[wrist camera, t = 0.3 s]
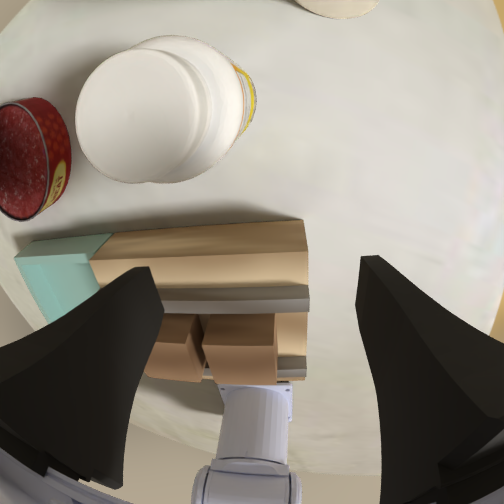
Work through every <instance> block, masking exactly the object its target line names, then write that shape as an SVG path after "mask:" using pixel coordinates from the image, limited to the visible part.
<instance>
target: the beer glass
mask: <svg viewBox="0 0 504 504" xmlns="http://www.w3.org/2000/svg"><path fill="white" fill-rule="evenodd" d="M294 1H296V2H297V3H298V4H299V5H301V6H302V7H304V8H305V9H307V10H309V11H311V12H313V13H316V14H318V15H321V16H325V17H329V18H335V19H350V18H356V17H360V16H363V15H365V14H367V13H369V12H370V11H371V10H372V9H374V7H375V6H376V5H377V4H378V2H379V0H294Z"/></svg>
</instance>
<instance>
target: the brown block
mask: <svg viewBox="0 0 504 504" xmlns="http://www.w3.org/2000/svg"><path fill="white" fill-rule="evenodd" d="M202 347H203V350H204V353H205V356H206V359H207V362H208V365H209V368H210V370H211V373H212V376H213V379H214V381H215V384H235V385H277V362H278V343H277V329H276V314H275V313H264V314H210V317H209V321H208V324H207V328H206V331H205V335H204V338H203V342H202Z"/></svg>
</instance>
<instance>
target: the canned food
mask: <svg viewBox="0 0 504 504" xmlns="http://www.w3.org/2000/svg"><path fill="white" fill-rule="evenodd" d="M70 171H71V145H70V139H69V135H68V132H67V128H66V125H65V123H64V121H63V119H62V117H61V115H60V114H59V112H58V111H57V109H56V108H55V107H54V106H53V105H52V104H51V103H49V102H48V101H46V100H44V99H42V98H36V97H33V98H28V99H23V100H19V101H14V102H8V103H4V104H2V105H1V106H0V211H1V212H2V213H3V214H4V215H6V216H7V217H8V218H10V219H12V220H15V221H19V222H23V221H29V220H31V219H33V218H34V217H35V216H36V215H38V214H39V213H41V212H42V211H44V210H45V209H46V208H48V207H49V206H51V205H52V204H54V203H55V202H56V201H57V200H58V199H59V198H60V197H61V195H62V194H63V192H64V191H65V188H66V186H67V184H68V180H69V176H70Z"/></svg>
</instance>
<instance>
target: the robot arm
mask: <svg viewBox="0 0 504 504" xmlns="http://www.w3.org/2000/svg"><path fill="white" fill-rule="evenodd" d="M355 307H356V313H357V319H358V325H359V330H360V334H361V337H362V341H363V344H364V348H365V351H366V355H367V359H368V362H369V366H370V369H371V373H372V377H373V381H374V384H375V389H376V394H377V401H378V410H379V419H380V432H381V455H382V474H381V495H380V504H504V343H501V342H500V341H497V340H495V339H494V338H492V337H490V336H488V335H487V334H485V333H483V332H481V331H479V330H477V329H476V328H474V327H473V326H471V325H469V324H468V323H466V322H465V321H463V320H462V319H460V318H458V317H457V316H455V315H454V314H452V313H451V312H449V311H448V310H447V309H445V308H444V307H442V306H441V305H440V304H438V303H437V302H436V301H435V300H433V299H432V298H431V297H429V296H428V295H427V294H425V293H424V292H423V291H422V290H420V289H419V288H418V287H417V286H415V285H414V284H413V283H412V282H411V281H409V280H408V279H407V278H406V277H405V276H403V275H402V274H401V273H400V272H399V271H398V270H396V269H395V268H394V267H393V266H392V265H390V264H389V263H388V262H387V261H385V260H384V259H383V258H382V257H380V256H379V255H373V256H361V260H360V270H359V279H358V287H357V295H356V302H355ZM164 311H165V309H164V307H163V304H162V301H161V299H160V296H159V293H158V290H157V288H156V285H155V282H154V279H153V276H152V273H151V270H150V267H149V266H143V267H134V268H132V269H130V270H128V271H126V272H125V273H123V274H122V275H120V276H119V277H117V278H116V279H114V280H113V281H112V282H110V283H109V284H107V285H106V286H105V287H103V288H102V289H100V290H99V291H98V292H96V293H95V294H94V295H92V296H91V297H89V298H88V299H87V300H85V301H84V302H82V303H81V304H79V305H78V306H76V307H75V308H74V309H72V310H71V311H69V312H68V313H66V314H65V315H63V316H62V317H60V318H58V319H57V320H55V321H53V322H52V323H50V324H48V325H47V326H45V327H43V328H41V329H39V330H37V331H35V332H33V333H32V334H30V335H28V336H26V337H24V338H22V339H20V340H17V341H15V342H13V343H10V344H8V345H5V346H3V347H0V504H133V503H130V502H127V501H124V500H121V499H118V498H116V497H113V496H110V495H108V494H105V493H102V492H100V491H98V490H95V489H93V488H91V487H88V486H86V485H84V484H82V483H80V482H78V480H79V478H80V479H82V480H84V481H87V482H90V480H92V481H94V482H97V483H99V484H101V485H104V486H106V487H109V488H112V489H119V488H121V487H122V486H123V462H124V450H125V442H126V434H127V429H128V423H129V418H130V413H131V409H132V405H133V401H134V397H135V393H136V390H137V387H138V384H139V381H140V379H141V376H142V374H143V371H144V369H145V366H146V364H147V361H148V359H149V356H150V354H151V352H152V349H153V347H154V344H155V342H156V339H157V337H158V334H159V331H160V327H161V324H162V320H163V316H164ZM217 386H218V389H219V392H220V395H221V397H222V400H223V403H224V405H225V407H224V413H223V419H222V425H221V430H220V436H219V442H218V448H217V453H216V459H212V462H211V466H208V465H205V466H204V467H203V468H201V469H200V470H199V471H198V473H197V475H196V477H195V480H194V485H193V490H192V498H191V504H301V500H302V485H301V479H300V477H298V476H297V475H296V473H295V472H289V465H287V444H288V422H291V421H292V384H291V383H277V385H235V384H218V385H217Z"/></svg>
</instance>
